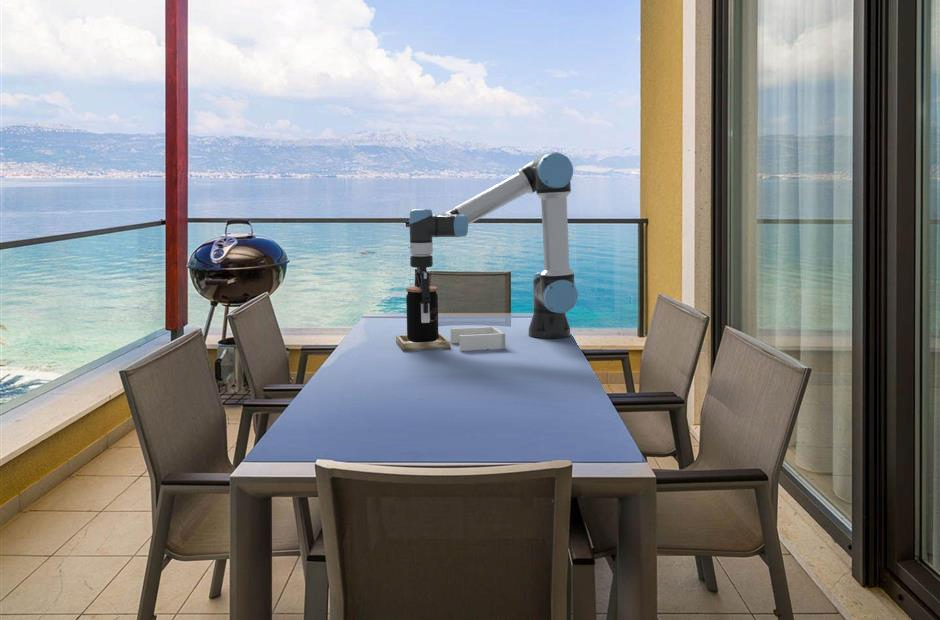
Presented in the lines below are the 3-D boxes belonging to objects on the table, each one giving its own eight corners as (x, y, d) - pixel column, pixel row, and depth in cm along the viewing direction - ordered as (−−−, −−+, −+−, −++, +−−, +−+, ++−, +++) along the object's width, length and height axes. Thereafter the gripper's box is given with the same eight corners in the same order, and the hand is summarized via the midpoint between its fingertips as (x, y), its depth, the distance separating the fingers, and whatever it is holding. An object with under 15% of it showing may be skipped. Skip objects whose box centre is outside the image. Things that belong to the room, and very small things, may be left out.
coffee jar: (434, 343, 284) (433, 289, 281) (403, 342, 286) (402, 289, 283) (441, 337, 294) (440, 286, 292) (411, 336, 296) (410, 285, 294)
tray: (441, 340, 300) (441, 333, 299) (450, 348, 284) (450, 341, 284) (396, 342, 296) (396, 335, 296) (403, 351, 281) (402, 343, 280)
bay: (493, 340, 299) (493, 326, 298) (505, 348, 284) (505, 333, 283) (450, 342, 295) (450, 328, 294) (460, 350, 280) (460, 336, 280)
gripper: (405, 252, 296) (406, 315, 299) (416, 258, 274) (417, 325, 277) (426, 252, 298) (427, 314, 301) (438, 257, 276) (439, 324, 279)
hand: (422, 320), depth 289 cm, fingers closed on coffee jar, 11 cm apart
